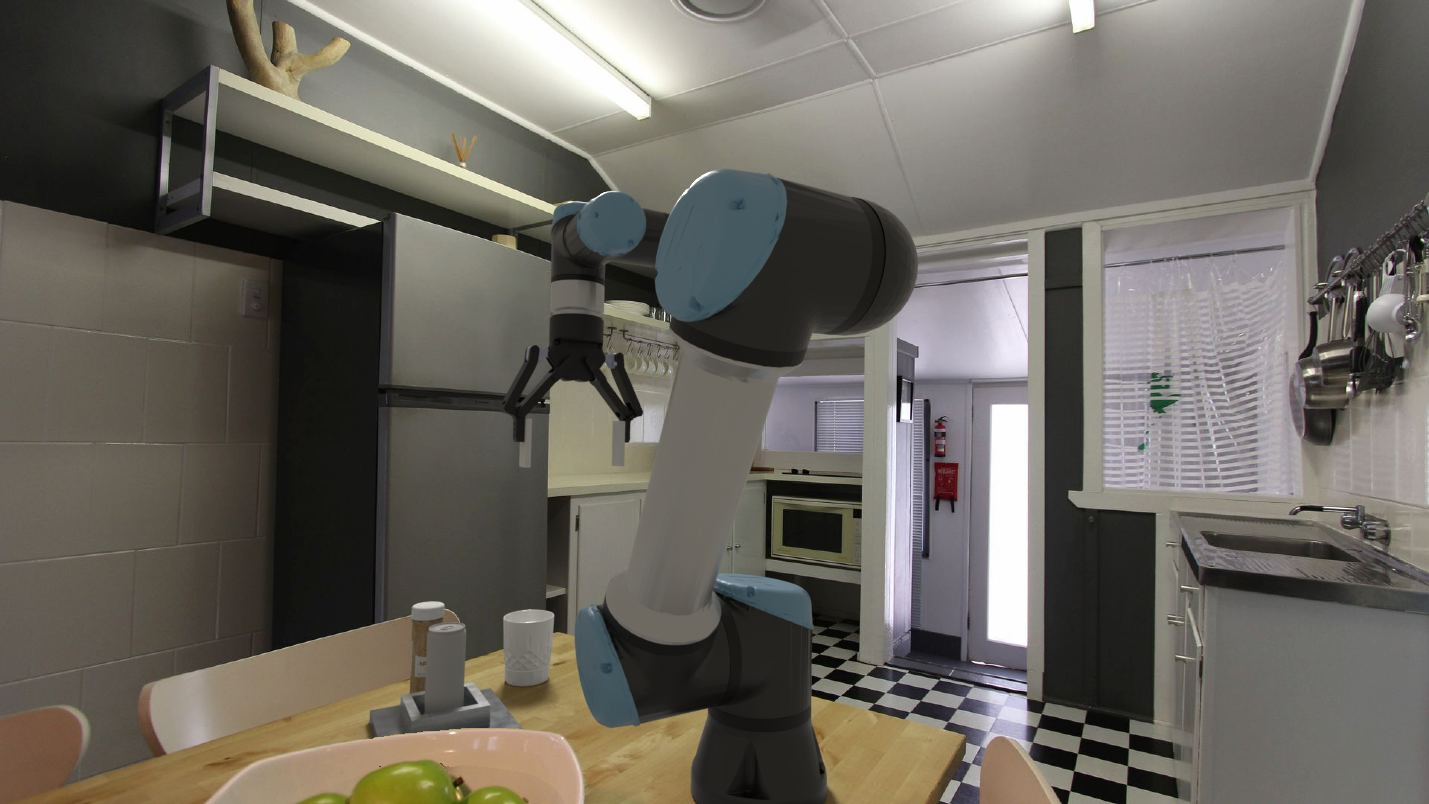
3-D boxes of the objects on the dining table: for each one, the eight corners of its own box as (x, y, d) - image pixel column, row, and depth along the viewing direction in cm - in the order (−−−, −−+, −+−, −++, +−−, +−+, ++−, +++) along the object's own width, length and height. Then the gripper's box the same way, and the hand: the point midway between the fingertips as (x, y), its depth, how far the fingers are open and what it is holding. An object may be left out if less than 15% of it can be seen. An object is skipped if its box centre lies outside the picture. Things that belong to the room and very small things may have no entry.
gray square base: (522, 740, 86) (523, 708, 86) (383, 773, 77) (385, 737, 77) (490, 698, 99) (491, 670, 99) (369, 721, 91) (370, 691, 91)
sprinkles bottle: (425, 703, 97) (428, 609, 98) (401, 698, 99) (404, 606, 99) (448, 692, 101) (451, 602, 102) (424, 687, 103) (428, 599, 104)
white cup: (537, 667, 113) (539, 607, 113) (561, 680, 107) (563, 616, 107) (492, 678, 107) (494, 614, 108) (515, 692, 102) (517, 625, 102)
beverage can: (415, 722, 87) (419, 628, 88) (446, 709, 91) (449, 619, 92) (440, 730, 85) (444, 634, 85) (471, 716, 89) (474, 625, 90)
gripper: (644, 327, 105) (641, 464, 104) (479, 309, 91) (474, 466, 90) (667, 321, 98) (664, 466, 97) (494, 301, 85) (488, 469, 84)
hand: (573, 466), depth 94 cm, fingers open, 13 cm apart
